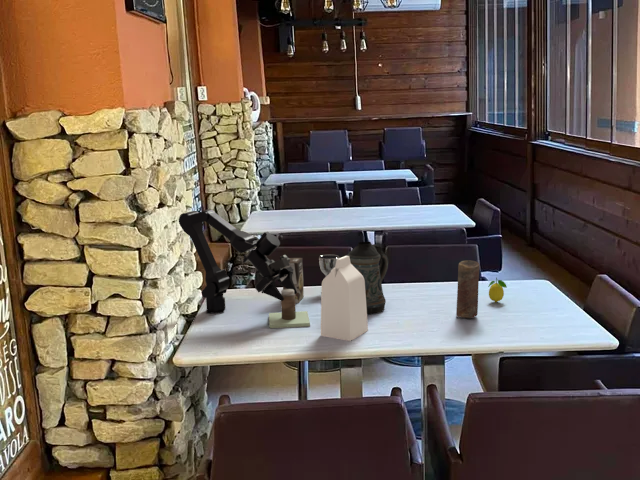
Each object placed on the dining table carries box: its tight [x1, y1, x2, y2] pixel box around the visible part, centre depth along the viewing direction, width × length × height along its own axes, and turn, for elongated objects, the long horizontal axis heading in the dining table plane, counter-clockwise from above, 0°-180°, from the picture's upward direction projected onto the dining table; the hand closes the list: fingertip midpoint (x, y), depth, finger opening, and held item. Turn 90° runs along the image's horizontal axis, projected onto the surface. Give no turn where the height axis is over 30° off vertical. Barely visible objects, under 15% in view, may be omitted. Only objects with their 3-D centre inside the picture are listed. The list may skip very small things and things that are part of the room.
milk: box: [320, 255, 369, 342], centre depth 237 cm, size 12×12×26 cm
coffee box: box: [282, 257, 305, 304], centre depth 279 cm, size 9×6×16 cm
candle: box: [455, 259, 480, 320], centre depth 251 cm, size 8×7×20 cm
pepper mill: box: [280, 289, 297, 320], centre depth 253 cm, size 5×5×10 cm
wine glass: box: [318, 254, 340, 277], centre depth 288 cm, size 8×8×15 cm
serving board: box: [268, 310, 311, 329], centre depth 254 cm, size 14×14×1 cm
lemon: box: [488, 277, 508, 303], centre depth 269 cm, size 7×6×10 cm
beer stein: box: [346, 241, 389, 316], centre depth 266 cm, size 16×19×25 cm
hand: (289, 296), depth 252 cm, fingers open, 9 cm apart
